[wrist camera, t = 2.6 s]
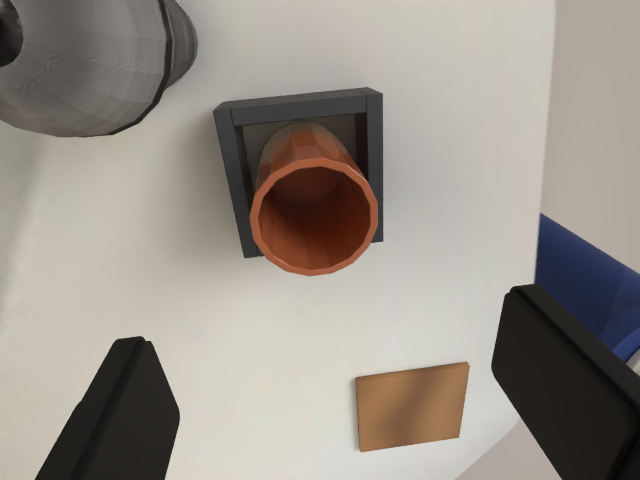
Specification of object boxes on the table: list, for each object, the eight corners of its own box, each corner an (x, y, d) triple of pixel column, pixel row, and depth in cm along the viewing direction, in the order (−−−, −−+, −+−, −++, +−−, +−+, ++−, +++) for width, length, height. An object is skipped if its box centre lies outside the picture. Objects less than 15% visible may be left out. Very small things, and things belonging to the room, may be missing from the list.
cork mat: (467, 361, 39) (469, 366, 38) (457, 433, 44) (459, 437, 44) (355, 377, 38) (356, 382, 37) (359, 447, 44) (360, 452, 43)
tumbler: (344, 117, 26) (377, 151, 17) (348, 201, 29) (378, 267, 20) (253, 126, 25) (239, 166, 17) (267, 210, 28) (261, 282, 20)
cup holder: (368, 87, 25) (383, 92, 21) (371, 219, 30) (383, 241, 26) (222, 102, 24) (212, 110, 21) (248, 233, 29) (244, 258, 26)
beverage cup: (74, 44, 22) (-730, 19, 5) (134, -68, 20) (-930, -933, 2) (180, 124, 25) (-66, 304, 7) (243, 33, 23) (115, -29, 5)
